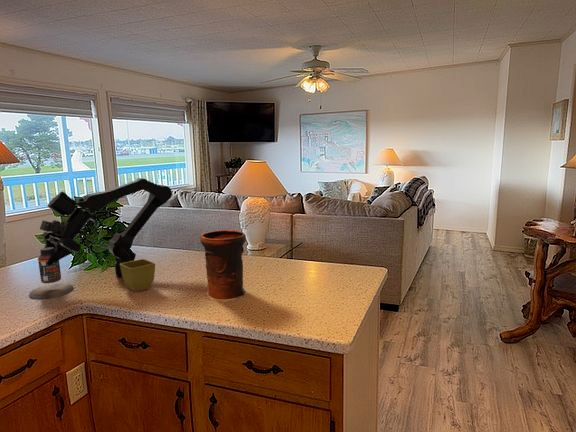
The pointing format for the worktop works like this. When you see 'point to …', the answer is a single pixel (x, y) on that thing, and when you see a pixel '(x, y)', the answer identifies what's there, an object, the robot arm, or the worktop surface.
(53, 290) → the coaster
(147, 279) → the flower pot
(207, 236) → the vessel
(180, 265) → the worktop surface
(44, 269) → the supplement bottle
